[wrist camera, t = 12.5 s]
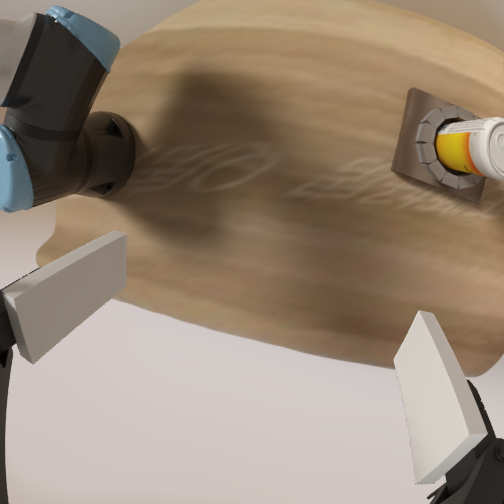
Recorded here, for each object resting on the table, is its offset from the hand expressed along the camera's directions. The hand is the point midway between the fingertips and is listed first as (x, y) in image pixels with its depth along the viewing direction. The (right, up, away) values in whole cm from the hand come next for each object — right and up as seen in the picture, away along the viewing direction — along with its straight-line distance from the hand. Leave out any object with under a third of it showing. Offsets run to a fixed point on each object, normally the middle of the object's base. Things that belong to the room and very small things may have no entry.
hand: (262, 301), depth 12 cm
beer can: (+26, +16, +20) cm, 36 cm away
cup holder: (+26, +17, +22) cm, 38 cm away
